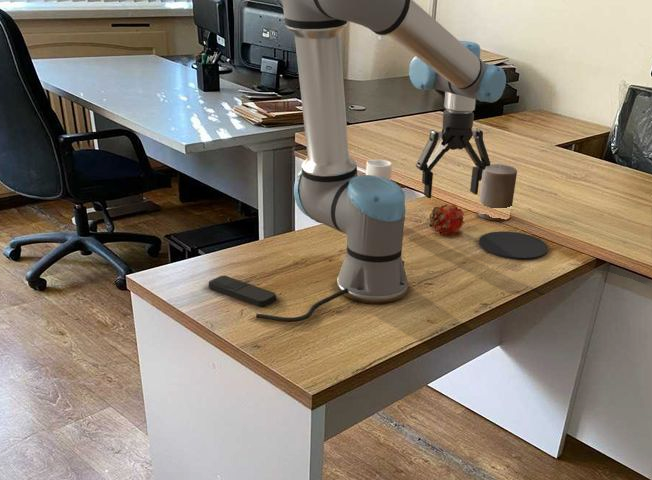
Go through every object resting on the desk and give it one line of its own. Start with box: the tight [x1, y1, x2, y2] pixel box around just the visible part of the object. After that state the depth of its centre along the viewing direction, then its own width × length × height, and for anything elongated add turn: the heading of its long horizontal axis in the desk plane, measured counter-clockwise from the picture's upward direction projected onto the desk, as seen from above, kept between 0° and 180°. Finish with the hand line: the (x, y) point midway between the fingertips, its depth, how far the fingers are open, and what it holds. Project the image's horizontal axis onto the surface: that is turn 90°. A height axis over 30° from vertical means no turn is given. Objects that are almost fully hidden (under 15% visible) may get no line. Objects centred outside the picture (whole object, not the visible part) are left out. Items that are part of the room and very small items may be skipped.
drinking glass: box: [365, 158, 393, 181], centre depth 188 cm, size 7×7×15 cm
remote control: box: [208, 274, 278, 308], centre depth 144 cm, size 5×2×15 cm
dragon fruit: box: [428, 204, 465, 236], centre depth 184 cm, size 8×8×12 cm
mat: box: [478, 231, 549, 261], centre depth 182 cm, size 18×18×1 cm
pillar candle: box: [477, 163, 518, 222], centre depth 197 cm, size 10×10×15 cm
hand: (450, 194), depth 181 cm, fingers open, 13 cm apart
